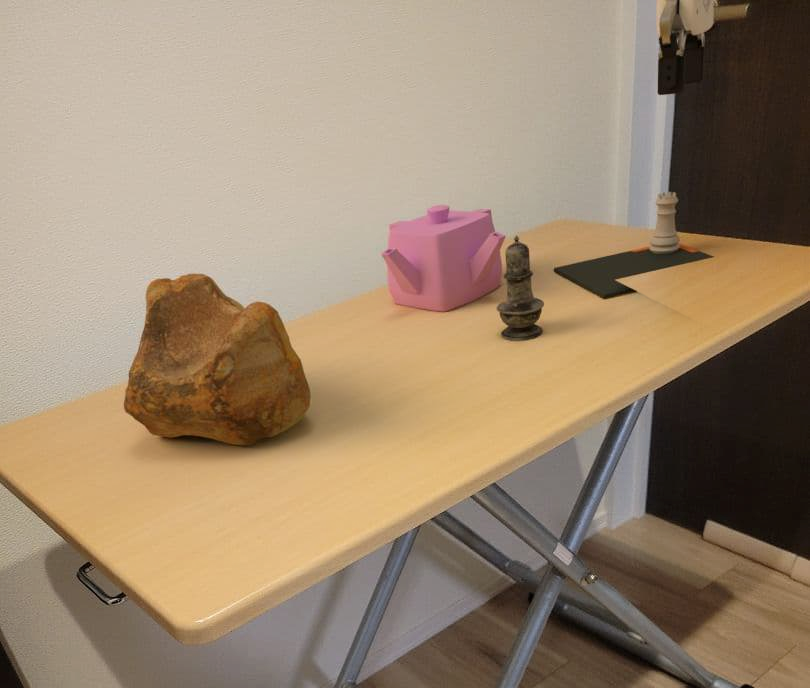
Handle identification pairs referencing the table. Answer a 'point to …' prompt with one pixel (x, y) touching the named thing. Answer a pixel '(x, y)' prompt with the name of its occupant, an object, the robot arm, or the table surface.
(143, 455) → the table surface
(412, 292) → the teakettle
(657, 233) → the rook chess piece
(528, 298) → the salt shaker
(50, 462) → the table surface
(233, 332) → the rough brown rock
